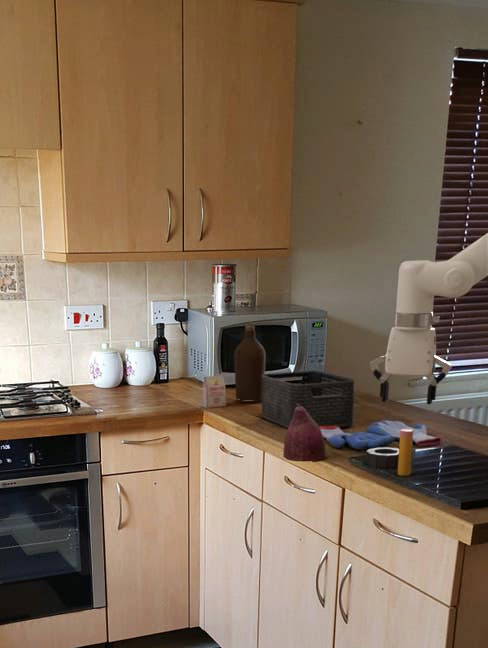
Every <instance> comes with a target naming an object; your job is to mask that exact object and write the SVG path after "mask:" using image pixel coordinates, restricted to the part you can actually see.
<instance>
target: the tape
mask: <svg viewBox="0 0 488 648" xmlns="http://www.w3.org/2000/svg"><path fill="white" fill-rule="evenodd" d="M365 452H366V453H365V454H366V455H365V464H366V466H369V467H373V468H378V469H398V459H399V448H397V447H388V446H385V447H378V448H372V449H366V451H365Z"/></svg>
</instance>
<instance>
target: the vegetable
mask: <svg viewBox="0 0 488 648" xmlns="http://www.w3.org/2000/svg"><path fill="white" fill-rule="evenodd" d="M326 447H327V446H326V441H325V439H324V437H323V435H322V432H321V430H320V428H319V426H318V425H317V423H316V422H315V421H314V420H313V419H312V418H311V417H310V415H309V414H308V413H307V411H306V410H305V409H304V408H303V407H302V406H300V405H298V404H297V407H296V408H295V411H294V416H293V418H292V421H291V423H290V426H289V428H287V431H286V433H285V437H284V444H283V458H284V459H286V460H287V461H290V462H291V461H292V462H302V463H303V462H305V463H306V462H315V461H322V460H325V458H326V455H327V454H326V453H327V449H326Z"/></svg>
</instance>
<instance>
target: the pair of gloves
mask: <svg viewBox="0 0 488 648" xmlns="http://www.w3.org/2000/svg"><path fill="white" fill-rule="evenodd" d="M319 428H320V430H321V432H322V435H323V438H325V439H326V441H327V442H328V443H329V444H330V445H331V446H332V447H334V448H335V449H341V448H343V447H344V446H345V445H346V443H347V444H348V446H350V447H351V449H354V450H358V451H363V450H368V449H372V448H382V447H388V446H389V445H391V444H392V443H394V441H400V430H402V429H411V430H413V443H415V444H416V445H417V446H418V447H428V446H434V445H435V446H436V445H440V444H441V442H442V438H441V437H440V436H436V437H435V436H432V435H428V434H427V433H428V432H427V426H426V425H425V424H423V423H417V424H415V425H414V426H413V427H410V426H408V425H406V424H405V423H404V422H402V421H392V420H388V419H384V420H380V421H377V422H376V421H375V422H373V423H371V424H370V426H367V428H366V429H365V431H366V432H365V431H364V432H363V431H361V432H355V433H349V432H344V431H343V430H342V429H341V427H337V426H332V427H322V426H321V427H319Z"/></svg>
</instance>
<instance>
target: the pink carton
mask: <svg viewBox="0 0 488 648" xmlns="http://www.w3.org/2000/svg"><path fill="white" fill-rule="evenodd" d="M226 391H227V389H226V383H225V376H224V375H210V376H203V384H202V407H203V408H205V409H212V408H225V407H227V405H226V404H227V400H226V398H227V397H226V396H227V395H226V394H227V393H226ZM203 403H204V404H203ZM222 403H226V404H222ZM205 404H206V405H205ZM209 404H214V405H209Z"/></svg>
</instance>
